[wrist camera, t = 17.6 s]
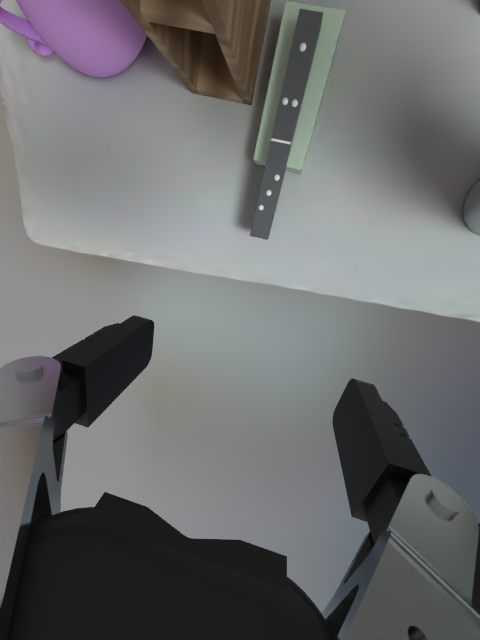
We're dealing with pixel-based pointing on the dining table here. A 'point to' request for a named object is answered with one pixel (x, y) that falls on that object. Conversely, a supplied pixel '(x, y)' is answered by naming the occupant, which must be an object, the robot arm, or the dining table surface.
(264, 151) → the green block
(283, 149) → the domino bar
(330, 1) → the dining table surface
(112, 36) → the teapot
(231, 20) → the shelf tower
